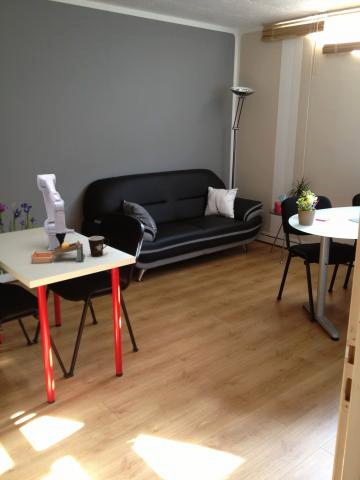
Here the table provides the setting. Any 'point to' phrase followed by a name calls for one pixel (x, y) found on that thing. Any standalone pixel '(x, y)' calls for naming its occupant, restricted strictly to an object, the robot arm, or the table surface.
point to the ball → (65, 245)
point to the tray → (41, 257)
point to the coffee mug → (96, 245)
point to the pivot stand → (80, 254)
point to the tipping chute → (71, 248)
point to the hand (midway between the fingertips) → (61, 246)
